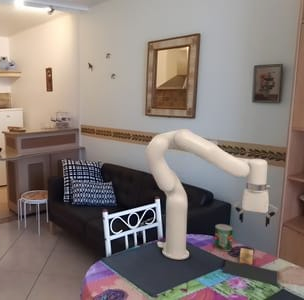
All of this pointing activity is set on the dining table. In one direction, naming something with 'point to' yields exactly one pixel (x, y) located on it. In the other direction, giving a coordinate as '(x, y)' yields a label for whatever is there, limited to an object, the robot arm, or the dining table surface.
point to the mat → (250, 272)
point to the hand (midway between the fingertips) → (253, 223)
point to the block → (246, 256)
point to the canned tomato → (223, 237)
